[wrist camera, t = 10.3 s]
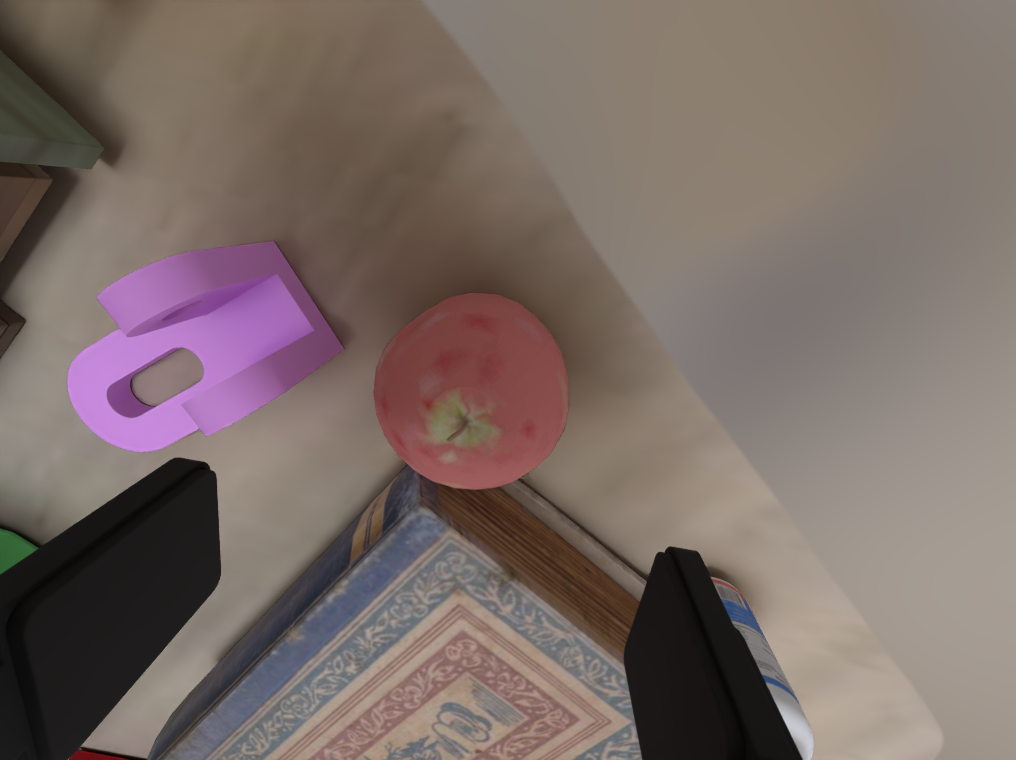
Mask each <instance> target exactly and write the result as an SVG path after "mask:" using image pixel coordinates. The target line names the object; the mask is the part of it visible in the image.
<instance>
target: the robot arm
mask: <svg viewBox="0 0 1016 760" xmlns="http://www.w3.org/2000/svg"><path fill="white" fill-rule="evenodd" d="M220 576H221V560H220V539H219V519H218V498H217V478H216V474H215V472H214V471H211V470H210V467H209V465H208V464H207V463H205V462H201V461H196V460H190V459H185V458H174V459H171V460H170V461H168V462H167V463H165V464H164V465H162V466H161V467H159V468H158V469H156V470H155V471H153V472H152V473H150V474H149V475H147V476H146V477H144V478H143V479H141V480H140V481H138V482H137V483H135V484H134V485H132V486H131V487H129V488H128V489H127V490H125V491H124V492H122V493H121V494H119V495H118V496H116V497H115V498H113V499H112V500H110V501H109V502H107V503H106V504H104V505H103V506H101V507H100V508H98V509H97V510H95V511H94V512H92V513H91V514H89V515H88V516H86V517H85V518H83V519H82V520H80V521H79V522H77V523H76V524H74V525H73V526H72V527H70V528H69V529H67V530H66V531H64V532H63V533H61V534H60V535H58V536H57V537H55V538H54V539H52V540H51V541H49V542H48V543H46V544H45V545H43V546H42V547H40V548H39V549H37V550H36V551H34V552H33V553H31V554H30V555H28V556H27V557H25V558H24V559H22V560H21V561H19V562H18V563H16V564H15V565H14V566H12V567H11V568H9V569H8V570H6V571H5V572H3V573H2V574H0V760H67V759H69V758H70V757H71V756H72V755H73V754H74V753H75V752H76V751H77V750H78V749H79V747H80V746H81V745H82V744H83V743H84V742H85V740H86V739H87V738H88V737H89V736H90V735H91V733H92V732H93V731H94V730H95V729H96V728H97V726H98V725H99V724H100V723H101V722H102V721H103V719H104V718H105V717H106V716H107V715H108V714H109V712H110V711H111V710H112V709H113V708H114V707H115V705H116V704H117V703H118V702H119V701H120V700H121V698H122V697H123V696H124V695H125V694H126V693H127V691H128V690H129V689H130V688H131V687H132V686H133V684H134V683H135V682H136V681H137V680H138V679H139V677H140V676H141V675H142V674H143V673H144V672H145V670H146V669H147V668H148V667H149V666H150V665H151V663H152V662H153V661H154V660H155V659H156V658H157V656H158V655H159V654H160V653H161V652H162V651H163V649H164V648H165V647H166V646H167V645H168V644H169V642H170V641H171V640H172V639H173V638H174V637H175V635H176V634H177V633H178V632H179V631H180V630H181V628H182V627H183V626H184V625H185V624H186V623H187V621H188V620H189V619H190V618H191V617H192V616H193V614H194V613H195V612H196V611H197V610H198V609H199V608H200V606H201V605H202V604H203V603H204V602H205V601H206V599H207V598H208V597H209V596H210V595H211V594H212V592H213V591H214V590H215V588H216V586H217V585H218V582H219V580H220ZM624 667H625V672H626V678H627V683H628V688H629V693H630V699H631V704H632V709H633V714H634V720H635V725H636V730H637V735H638V741H639V746H640V751H641V756H642V760H803V758H802V756H801V754H800V752H799V750H798V748H797V746H796V744H795V742H794V740H793V738H792V736H791V734H790V732H789V729H788V727H787V725H786V723H785V721H784V719H783V717H782V715H781V713H780V711H779V709H778V707H777V705H776V703H775V701H774V699H773V696H772V694H771V692H770V690H769V688H768V686H767V684H766V682H765V680H764V678H763V676H762V674H761V672H760V670H759V668H758V666H757V663H756V661H755V659H754V657H753V655H752V653H751V651H750V649H749V647H748V645H747V643H746V641H745V639H744V637H743V635H742V634H741V632H740V631H739V630H738V629H737V628H736V627H734V625H733V623H732V621H731V619H730V617H729V615H728V613H727V610H726V608H725V606H724V604H723V602H722V600H721V598H720V596H719V594H718V591H717V589H716V587H715V585H714V583H713V581H712V579H711V577H710V575H709V572H708V570H707V568H706V566H705V564H704V562H703V560H702V558H701V556H700V554H699V553H698V552H697V551H693V550H687V549H682V548H676V547H671V546H670V547H668V548H667V549H666V550H665V553H664V552H658V553H657V555H656V557H655V560H654V563H653V565H652V568H651V571H650V574H649V577H648V580H647V583H646V586H645V589H644V592H643V595H642V598H641V600H640V603H639V606H638V609H637V612H636V615H635V618H634V621H633V624H632V627H631V630H630V633H629V635H628V638H627V641H626V644H625V648H624Z"/></svg>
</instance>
